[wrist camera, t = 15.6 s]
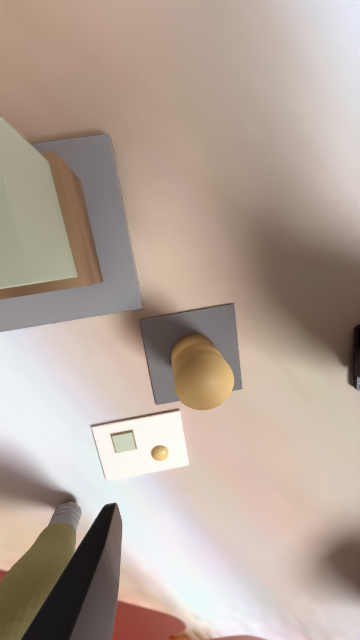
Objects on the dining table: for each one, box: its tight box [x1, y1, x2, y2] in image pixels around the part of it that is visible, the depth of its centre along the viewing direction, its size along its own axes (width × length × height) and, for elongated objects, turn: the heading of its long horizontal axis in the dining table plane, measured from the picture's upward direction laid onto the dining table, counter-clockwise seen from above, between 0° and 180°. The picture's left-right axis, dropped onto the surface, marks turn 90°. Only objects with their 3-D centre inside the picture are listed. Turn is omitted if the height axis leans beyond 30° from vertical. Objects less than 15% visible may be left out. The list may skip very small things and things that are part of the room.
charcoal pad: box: [139, 304, 242, 405], centre depth 20 cm, size 8×8×1 cm
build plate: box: [0, 134, 143, 332], centre depth 17 cm, size 12×12×1 cm
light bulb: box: [0, 501, 81, 640], centre depth 18 cm, size 6×6×10 cm
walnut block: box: [0, 152, 103, 300], centre depth 15 cm, size 7×7×4 cm
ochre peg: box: [171, 333, 234, 410], centre depth 18 cm, size 4×4×5 cm
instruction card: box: [92, 410, 189, 481], centre depth 22 cm, size 8×6×1 cm
